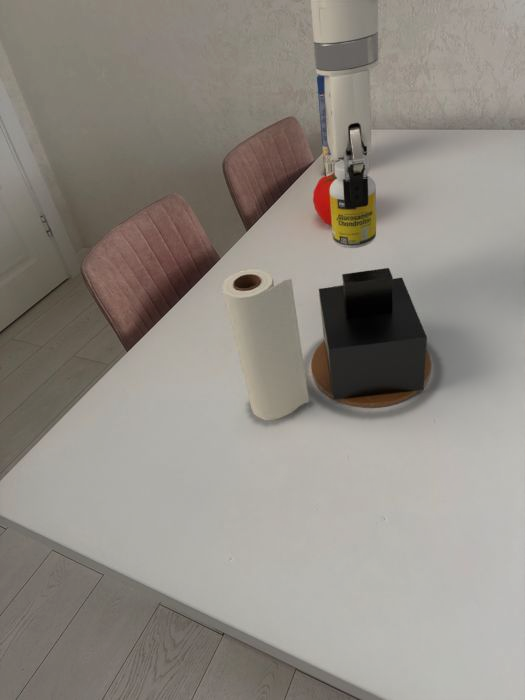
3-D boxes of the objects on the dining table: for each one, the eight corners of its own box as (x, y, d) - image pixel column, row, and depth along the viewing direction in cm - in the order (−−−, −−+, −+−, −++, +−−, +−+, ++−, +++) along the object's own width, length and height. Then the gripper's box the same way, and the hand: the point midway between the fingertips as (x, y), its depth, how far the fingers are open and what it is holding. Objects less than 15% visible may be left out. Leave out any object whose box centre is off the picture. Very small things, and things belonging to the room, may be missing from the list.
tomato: (326, 206, 119) (322, 162, 112) (377, 208, 113) (376, 162, 107) (306, 233, 110) (300, 186, 103) (360, 236, 105) (358, 187, 98)
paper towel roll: (243, 414, 71) (210, 287, 57) (270, 388, 74) (244, 263, 60) (283, 435, 67) (257, 304, 53) (309, 406, 70) (291, 276, 56)
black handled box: (307, 336, 80) (296, 252, 70) (415, 323, 78) (418, 235, 69) (316, 414, 67) (304, 324, 57) (445, 400, 65) (455, 304, 56)
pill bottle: (328, 249, 75) (321, 173, 67) (339, 228, 79) (334, 155, 72) (371, 251, 72) (369, 172, 65) (380, 229, 77) (379, 153, 69)
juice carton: (352, 175, 130) (348, 73, 115) (324, 176, 133) (316, 77, 118) (359, 158, 139) (355, 61, 124) (332, 159, 141) (326, 65, 126)
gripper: (310, 47, 67) (321, 177, 78) (321, 75, 54) (332, 227, 65) (366, 37, 66) (369, 170, 78) (392, 62, 53) (391, 218, 64)
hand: (352, 195), depth 71 cm, fingers closed on pill bottle, 6 cm apart
